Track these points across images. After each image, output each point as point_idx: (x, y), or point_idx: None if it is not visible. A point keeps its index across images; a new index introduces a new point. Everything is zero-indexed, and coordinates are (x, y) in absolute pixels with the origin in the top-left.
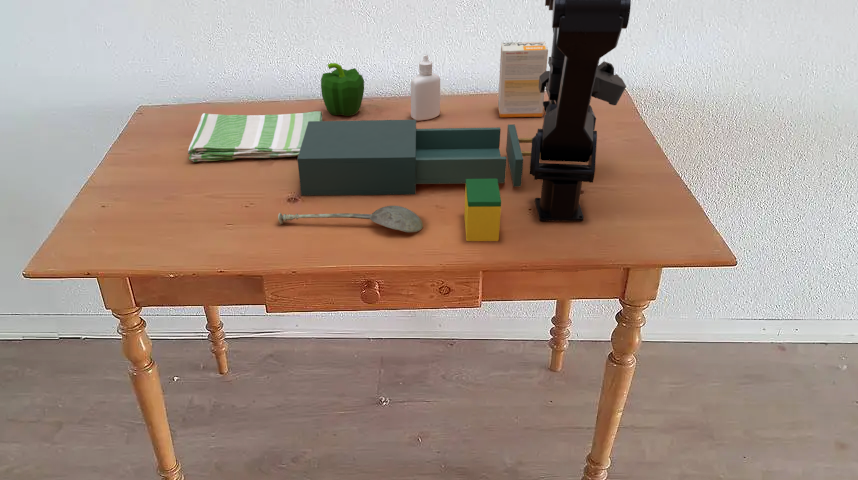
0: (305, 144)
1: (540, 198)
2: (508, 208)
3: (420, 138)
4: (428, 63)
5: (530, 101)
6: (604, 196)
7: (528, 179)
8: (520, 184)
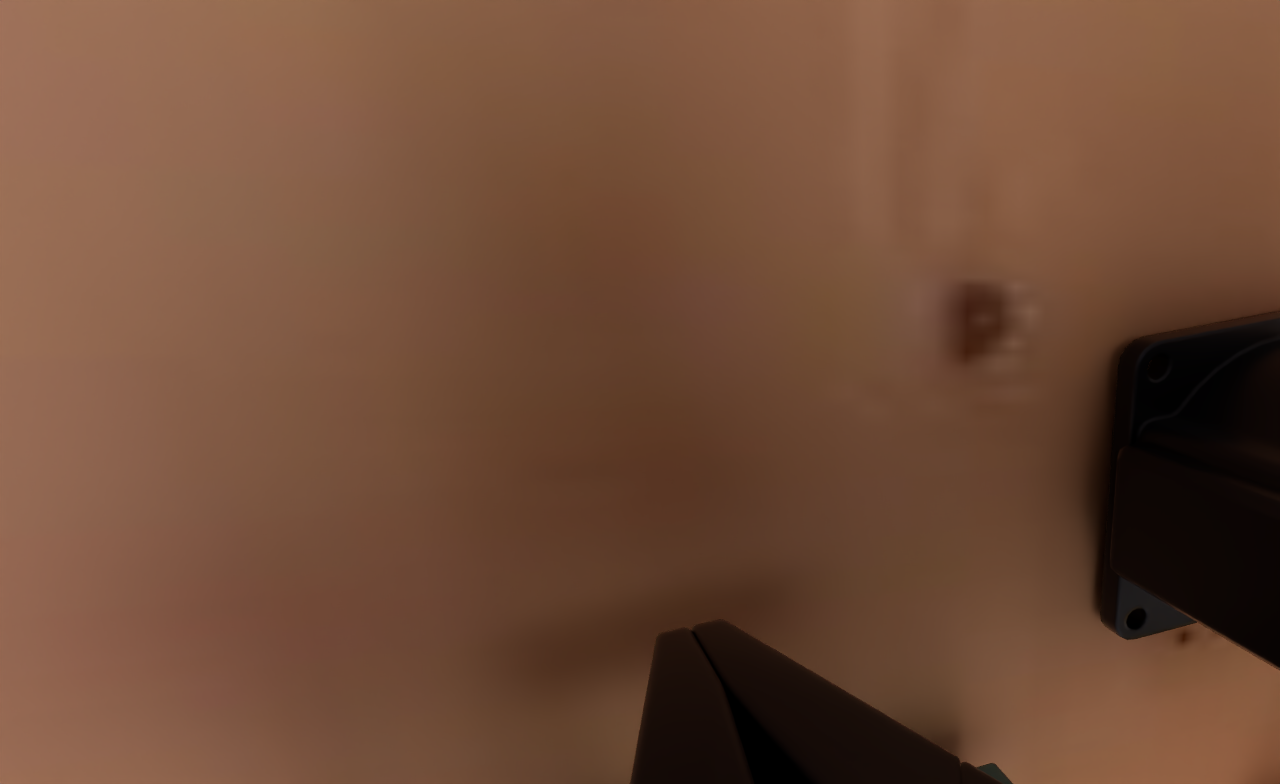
0: None
1: (1128, 606)
2: (1157, 753)
3: None
4: None
5: None
6: (1054, 99)
7: None
8: (1009, 781)
